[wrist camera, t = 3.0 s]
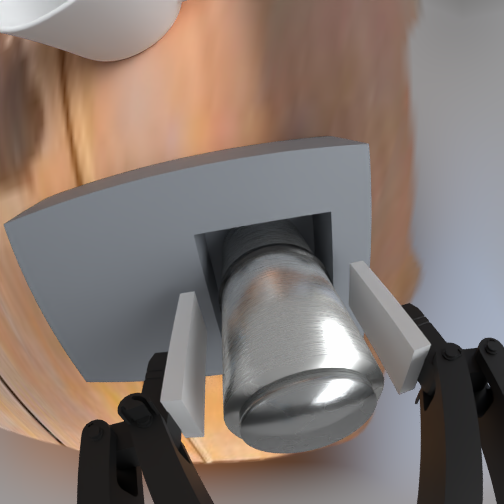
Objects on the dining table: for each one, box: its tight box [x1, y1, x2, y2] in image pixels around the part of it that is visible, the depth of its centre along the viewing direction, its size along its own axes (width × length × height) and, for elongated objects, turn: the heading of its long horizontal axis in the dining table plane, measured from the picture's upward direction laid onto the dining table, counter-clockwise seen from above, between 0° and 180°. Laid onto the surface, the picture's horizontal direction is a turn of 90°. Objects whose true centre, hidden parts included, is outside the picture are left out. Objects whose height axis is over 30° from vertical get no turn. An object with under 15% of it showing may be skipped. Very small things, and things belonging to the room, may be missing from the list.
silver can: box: [219, 219, 384, 453], centre depth 14 cm, size 6×6×13 cm
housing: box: [4, 136, 371, 382], centre depth 19 cm, size 22×14×6 cm, turn 99°
